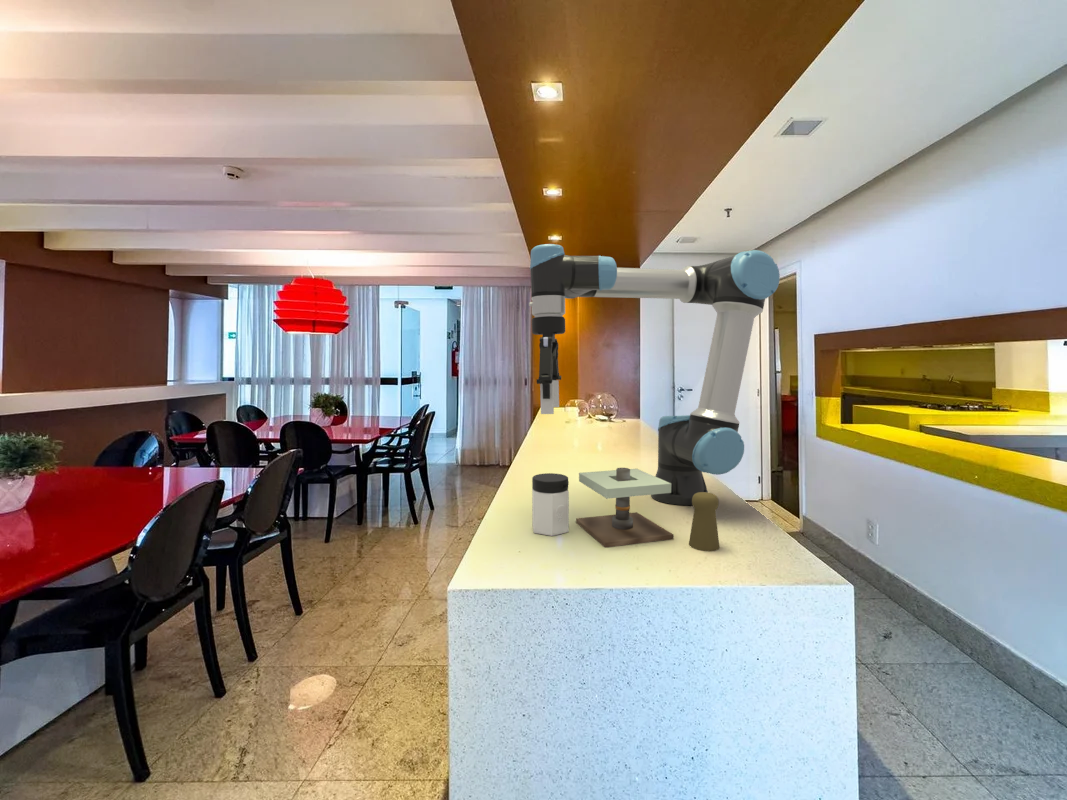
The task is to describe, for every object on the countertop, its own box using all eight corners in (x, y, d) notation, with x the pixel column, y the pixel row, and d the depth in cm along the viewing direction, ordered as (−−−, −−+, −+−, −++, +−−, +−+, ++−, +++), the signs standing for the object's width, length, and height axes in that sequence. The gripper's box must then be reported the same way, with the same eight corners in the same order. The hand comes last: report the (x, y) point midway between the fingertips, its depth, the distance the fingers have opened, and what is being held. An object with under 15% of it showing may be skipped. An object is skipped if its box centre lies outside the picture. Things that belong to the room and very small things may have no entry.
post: (636, 516, 121) (637, 459, 120) (673, 539, 105) (674, 474, 104) (575, 522, 116) (576, 464, 115) (605, 547, 101) (605, 480, 100)
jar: (544, 538, 106) (544, 483, 105) (523, 528, 113) (523, 476, 112) (577, 530, 111) (577, 478, 110) (555, 520, 117) (555, 471, 116)
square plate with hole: (636, 476, 119) (636, 468, 119) (671, 492, 105) (671, 483, 105) (579, 481, 115) (579, 472, 115) (606, 498, 101) (606, 489, 100)
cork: (682, 542, 103) (683, 491, 103) (704, 538, 106) (706, 488, 105) (702, 553, 98) (704, 498, 97) (726, 548, 100) (727, 495, 99)
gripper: (538, 320, 124) (540, 404, 126) (523, 312, 99) (526, 417, 101) (568, 319, 123) (570, 404, 125) (560, 311, 98) (562, 417, 100)
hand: (550, 410), depth 113 cm, fingers open, 13 cm apart
